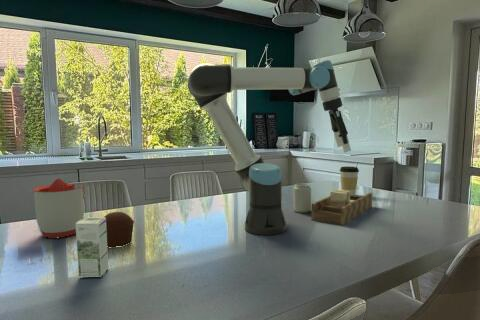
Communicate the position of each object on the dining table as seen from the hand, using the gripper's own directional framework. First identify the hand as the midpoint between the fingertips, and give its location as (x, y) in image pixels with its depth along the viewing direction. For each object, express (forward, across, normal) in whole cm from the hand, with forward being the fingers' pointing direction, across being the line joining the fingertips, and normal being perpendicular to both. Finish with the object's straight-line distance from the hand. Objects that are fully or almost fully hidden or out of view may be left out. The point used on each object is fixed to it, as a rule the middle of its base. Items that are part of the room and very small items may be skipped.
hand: (344, 148), depth 142 cm
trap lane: (+27, -1, +7) cm, 28 cm away
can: (+22, +1, +24) cm, 33 cm away
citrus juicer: (-5, -35, +107) cm, 113 cm away
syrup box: (0, -67, +79) cm, 103 cm away
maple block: (+22, -4, +8) cm, 24 cm away
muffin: (+1, -44, +84) cm, 95 cm away
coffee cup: (+33, +36, -2) cm, 49 cm away
